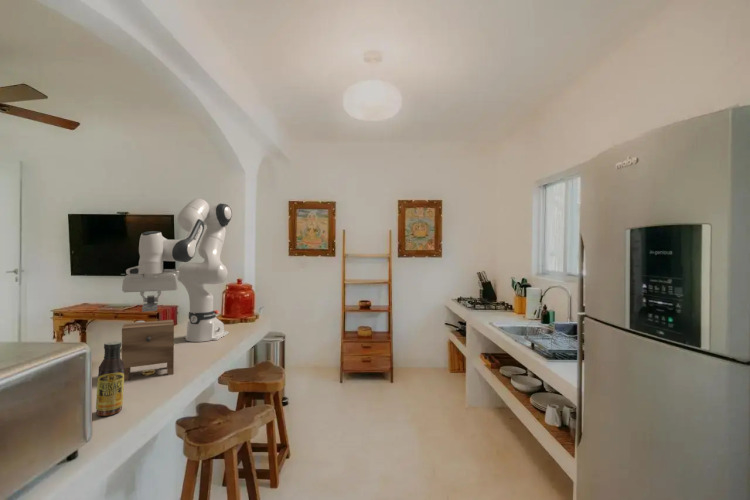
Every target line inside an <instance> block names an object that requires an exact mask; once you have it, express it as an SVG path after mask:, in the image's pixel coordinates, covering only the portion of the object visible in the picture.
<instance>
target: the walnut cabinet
mask: <svg viewBox="0 0 750 500" xmlns="http://www.w3.org/2000/svg"><path fill="white" fill-rule="evenodd" d="M174 341H175V323H174V319H164V320H163V319H162V320H152V321H151V320H150V321H148V320H147V321H145V322H136V321H134V322H126V323H124V324H123V325H122V328H121V360H122V361H123V363H124V382H126V381H129V380H130V374H131V368H137V367H143V366H144V367H145V366H152V365H159V364H166V369H167V370H166V371H167V372H166V374H167V375H169V376H170V375H174V367H175V366H174V365H175V364H174V363H175V361H174V359H175V358H174V357H175V356H174V355H175V351H174V350H175V348H174V346H175V345H174V344H175V343H174Z"/></svg>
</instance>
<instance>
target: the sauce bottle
mask: <svg viewBox="0 0 750 500" xmlns="http://www.w3.org/2000/svg"><path fill="white" fill-rule="evenodd" d="M103 349H104V356H103V360H102V361H101V363H100V364H99V366H98V375H97V383H96V384H97V385H96V402H95V403H96V404H95V409H96V410H95V411H96V412H95V414H96V416H99V417H108V416H110V417H111V416H113V415H116V414H118V413H120V412H121V411H122V410H123V405H124V389H125V386H124V385H125V381H124V363H123V361H122V357H121V349H122V341H118V340H117V341H116V340H115V341H107V342H105V343H104V344H103Z"/></svg>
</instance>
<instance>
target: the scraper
mask: <svg viewBox="0 0 750 500" xmlns="http://www.w3.org/2000/svg"><path fill="white" fill-rule="evenodd" d="M154 297H155V295H147V297H146V298H147V302H144V303H142V308H141V312H143V313H144V312H145V313H146V312H158V306H159V305H158V302H154Z"/></svg>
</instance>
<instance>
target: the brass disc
mask: <svg viewBox="0 0 750 500" xmlns="http://www.w3.org/2000/svg"><path fill="white" fill-rule="evenodd" d="M154 374H156V369H154V368H153V369H152V368H151V369H144V370H142V376H151V375H154Z"/></svg>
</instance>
